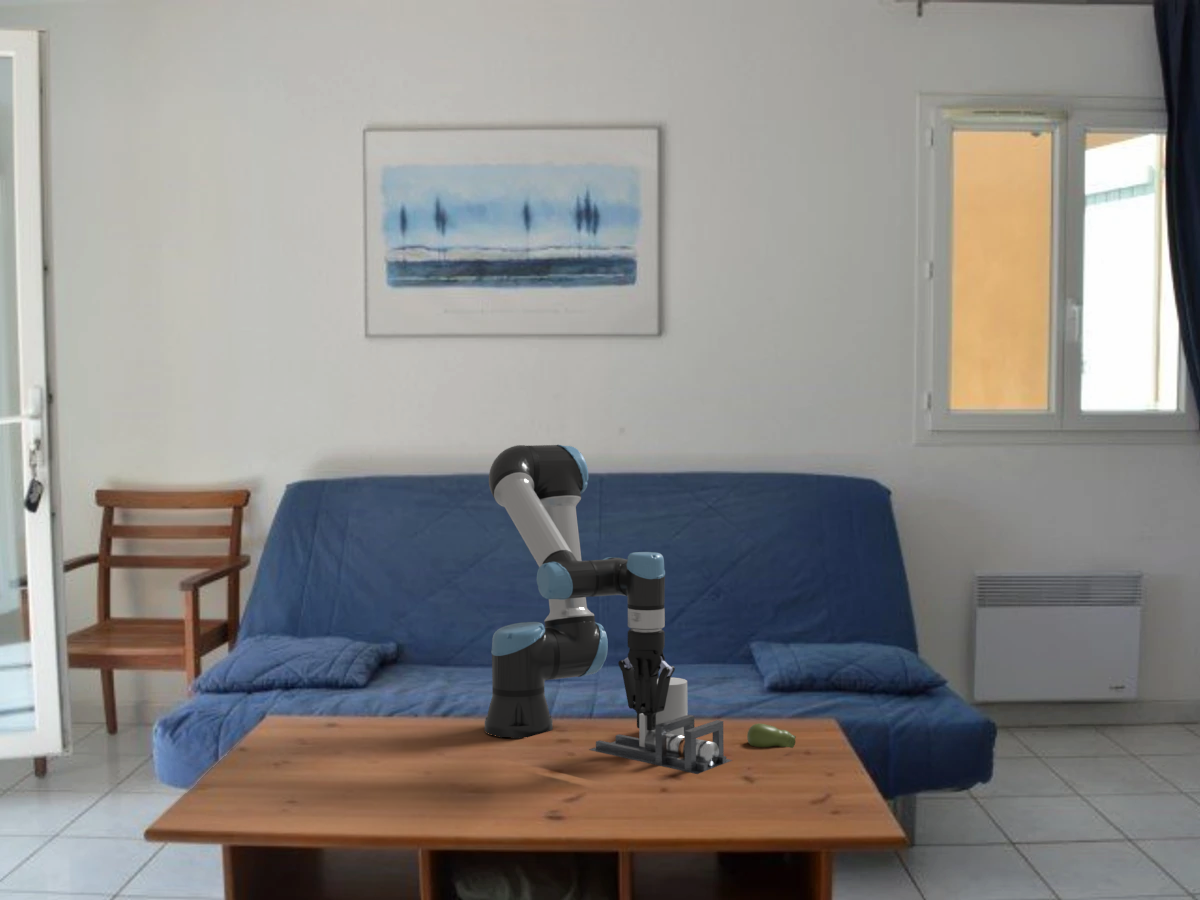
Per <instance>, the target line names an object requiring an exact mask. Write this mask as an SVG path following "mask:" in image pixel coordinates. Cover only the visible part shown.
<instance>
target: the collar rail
mask: <svg viewBox="0 0 1200 900" xmlns="http://www.w3.org/2000/svg"><path fill="white" fill-rule="evenodd" d="M682 727H684V735H683V736H685V759H684V758H682V757H680V758H679V757H675V756H670V755H667V732H670V731H673V730H676V729H679V728H682ZM710 734H712V742H715V743H716V744H717V745H718V748H719V756H718V759H717V761H716V763H715V764H714V765H712V766H711V765H708V764H707V763H702V762H698V761H696V739H699V738H701V737H704V736H706V735H710ZM655 742H656V752H651V751H647V750H646V748H645V747H641V746H639V738H638V737H634V736H628V735H625V734H620V733H619V734H616V735H615V740H614V741H612V742H609V741H605V740H601V739H600V740H596V741H595V747H593V748H590V749H588V750H589V751H592V752H597V753H601V754H605V755H611V756H614V757H619V758H623V759H627V760H631V761H637V762H642V763H645V764H650V765H655V766H660V767H663V768H669V769H672V770H678V771H682V772H686V773H690V774H694V775H695V774H696V775H699V774H702V773H703V772H707V771H708V770H712V769H714V768H717V767H719V766H721V765H724V764H727V763H729V762H732V761H733V760H732V759H730V758H729V759H728V758H727V756H726V755H724V753H725V752H724V751H725V750H724V721H723V720H720V719H719V720H718V719H716V720H713V721H709V722H707V723H704V724H701V725H698V726H695V715H693V714H687V715H686V716H683V717H680V718H676V719H673V720H670V721H667V722H664V723H661V724H658V725H655Z"/></svg>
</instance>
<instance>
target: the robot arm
mask: <svg viewBox="0 0 1200 900" xmlns="http://www.w3.org/2000/svg"><path fill="white" fill-rule="evenodd" d="M588 470H589V468H588V464H587V461H586V459H585V457H584V455H583V453H581V452H580V451H579V449H578V448H577V447H574V446H571V445H561V444H551V445H550V444H549V445H547V444H546V445H545V444H544V445H543V444H542V445H526V444H525V445H524V444H523V445H520V444H518V445H517V444H516V445H514V446H510V447H508V448H506V449H504V450H503V451H501V452H500V453H499V454H498V455H497V457H496V458H495V459H494V460H493V462H492V464H491V465H490V469H489V474H488V485H489V490H490V493H491V495H492V497H493V498H494V500H495V502H496V503H497V504H498V505H499V506H501V507H503V508H505V510H506V512H507V514H508V516H509V517H510V519H511V520H512V522H513V524H514V526H515V527H516V530H518V533H519V534H520V536H521V538H522V540H523V541H524V543H525V545H526V547H527V548H528V551H529V552H530V554H531V555H532V557H533V558H534V561H536V564H537V566H538V569H537V574H536V584H537V586H538V587H537V589H538V592H539V594H540V595H541V596H542V598H544V599H546V600H548V605H549V614H548V615H547V616H546V618H545V619H544V624H543V623H542V622H538V621H527V622H524V621H523V622H517V623H511V624H508V625H504V626H502V627H500V628H498V629H497V630H495V632H494V633H493V635H492V640H491V642H492V643H491V650H490V652H491V668H492V669H491V672H492V673H491V679H492V681H491V682H492V683H491V686H492V690H491V691H492V693H491V694H492V696H491V700H490V702H489V707H488V710H487V716H486V717H485V719H484V732H485V731H486V732H487V733H489V734H492V735H496V736H500V737H499V738H502V737H512V738H511V739H523V738H522V737H527V738H531V737H534V736H537V735H541V734H544V733H548V732H551V731H553V730H552V729H553V727H554V726H553V725H554V724H553V717H552V715H550V709H549V706H548V702H547V698H546V695H545V691H546V690H545V683H546V681H549V680H550V681H551V680H560V679H569V678H575V677H577V678H583V677H585V676H590V675H594V674H596V673H598V672H599V671H600V670H601V669H602V667H603V666H604V663H605V661H606V659H607V655H608V649H609V648H608V645H609V644H608V636H607V632H606V631H605V628H604V626H603V625H602V624H601V623H599V622H596V620H595V619H596V618H595V614H594V612H591V610H589V608H588V605H587V598H591V597H606V596H625V597H627V627H628V628H629V629H628V631H627V647H628V648H629V650H628V653H627V657H626V658H625V659H622V660H619V661H618V667H619V669H620V671H621V673H622V678H623V683H624V688H625V695H626V700H627V704H628V705H627V706H628V708H629V709H632V710H634V711H635V713H636V727H637V729H638V730H639V732H638V733H639V734H638V735H639V736H638V737H639V746H641V747H645V737H646V735H647V733H648V732H649V731H652V730H655V725H656V713H658V712H661V711H664V708H665V703H666V698H667V693H668V688H669V683H670V678H671V677H672V675H673V674H674V672H675V670H676V668H675V666H674V665H669V664H668V663H667V661H666V657H665V655H664V649H665V642H666V641H665V639H666V637H665V636H666V635H665V633H666V631H664V629H663V628H665V626H666V625H665V624H666V623H665V621H666V617H665V616H666V614H665V611H666V610H665V609H666V608H665V597H666V596H665V591H666V590H665V589H666V588H665V586H666V584H665V581H666V580H665V579H666V570H665V559H664V556H663V554H661V553H660V552H655V551H654V552H651V551H639V552H638V551H637V552H630V553H629V554H628V556H627V558H626V559H625V558H623V557H619V556H616V557H613V556H610V557H605V558H603V559H595V560H582V554H581V544H580V542H581V541H580V533H579V525H578V518H577V508H576V507H577V505H578V504H579V502H580V501H581V499H582V496H581V495H582V494H583V493H584V492H585V491H586V489H587V487H588V481H589V471H588ZM658 678H659V679H658ZM657 680H658V684H657ZM486 732H485V733H486ZM487 733H486V734H487ZM489 734H488V735H489Z"/></svg>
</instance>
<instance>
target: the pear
mask: <svg viewBox="0 0 1200 900" xmlns="http://www.w3.org/2000/svg"><path fill="white" fill-rule="evenodd" d="M746 734H747V735H746V736H747V742H748V744H749V745H750V746H752V747H755V748H771V747H782V748H783V747H784V748H792V749H793V748H794V747H795V745H796V738H797V736H796V735H794V734H792V733H791V732H790V731H789V730H786V729H779V728H777V727H776V726H773V725H770V724H766V723H754V724H753V725H751V726H750V727H749V728H748V731H747V733H746Z"/></svg>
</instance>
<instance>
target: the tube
mask: <svg viewBox="0 0 1200 900" xmlns="http://www.w3.org/2000/svg"><path fill="white" fill-rule="evenodd" d="M645 748H646V750H647V751H651V752H656V742H655V730H652V731H649V732H648V733H647V735H646V737H645ZM667 755H670V756H675V757H679V758H680V757H682V758H684V759H685V736H684V735H682V736H680V735H675V734H670V733H667ZM718 756H719V748H718V745H717V744H716V743H715V742H713V741H709V740H705V739H699V738H696V761H698V762H702V763H707V764H708V765H711V766H712V765H714V764H715V763H716V761H717V759H718Z"/></svg>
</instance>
